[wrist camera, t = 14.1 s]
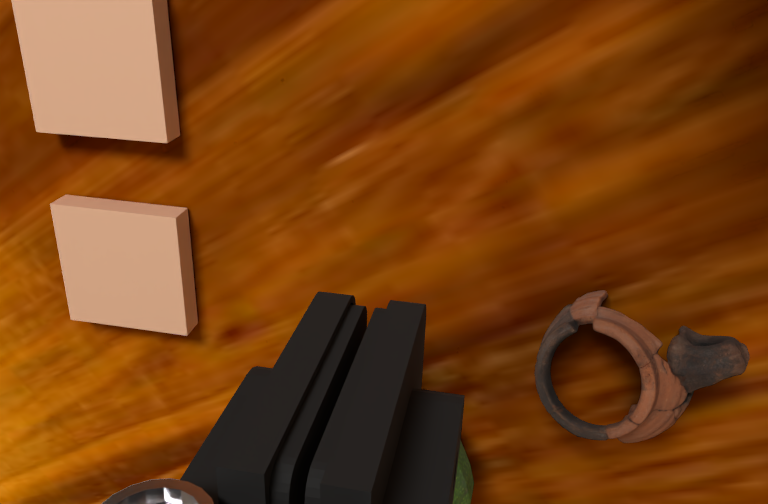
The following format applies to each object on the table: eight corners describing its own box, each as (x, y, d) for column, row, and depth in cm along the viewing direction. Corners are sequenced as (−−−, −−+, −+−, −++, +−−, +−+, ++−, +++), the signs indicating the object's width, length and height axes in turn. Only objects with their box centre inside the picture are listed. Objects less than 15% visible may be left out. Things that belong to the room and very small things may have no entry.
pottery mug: (599, 430, 49) (551, 470, 43) (553, 302, 51) (499, 322, 44) (783, 395, 42) (759, 437, 36) (724, 247, 43) (690, 262, 37)
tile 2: (190, 206, 48) (68, 192, 49) (175, 218, 46) (49, 203, 47) (200, 320, 52) (87, 305, 53) (187, 335, 50) (70, 319, 51)
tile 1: (168, -15, 42) (31, -21, 43) (150, -11, 40) (7, -19, 41) (182, 134, 46) (56, 123, 47) (167, 143, 44) (36, 131, 45)
